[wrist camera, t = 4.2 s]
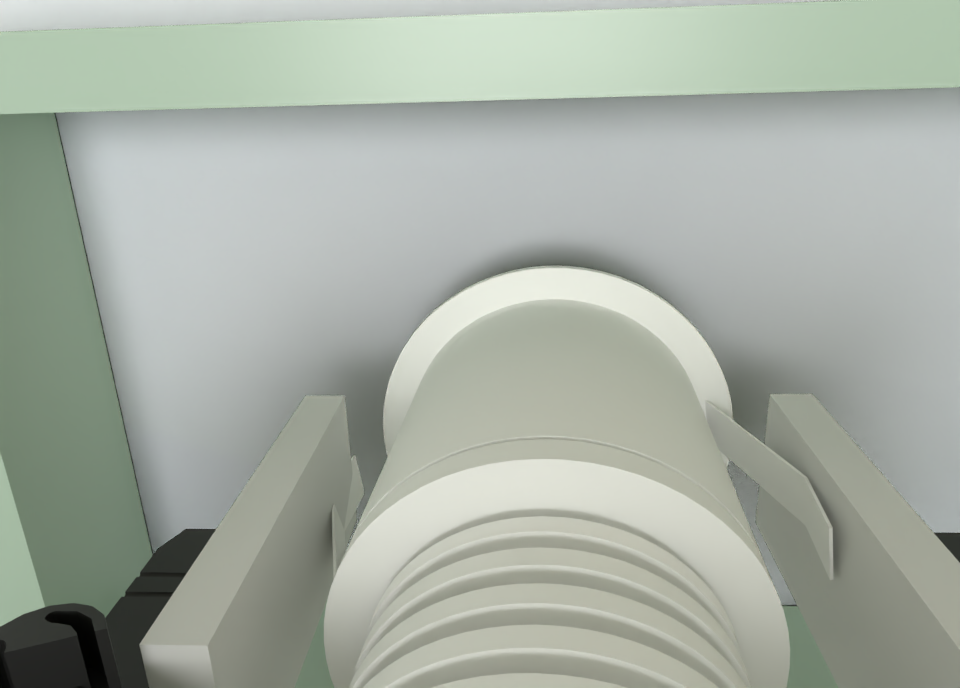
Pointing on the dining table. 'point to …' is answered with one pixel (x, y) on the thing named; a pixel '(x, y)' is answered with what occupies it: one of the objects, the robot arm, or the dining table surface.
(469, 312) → the downlight
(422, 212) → the dining table surface
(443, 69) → the bin
